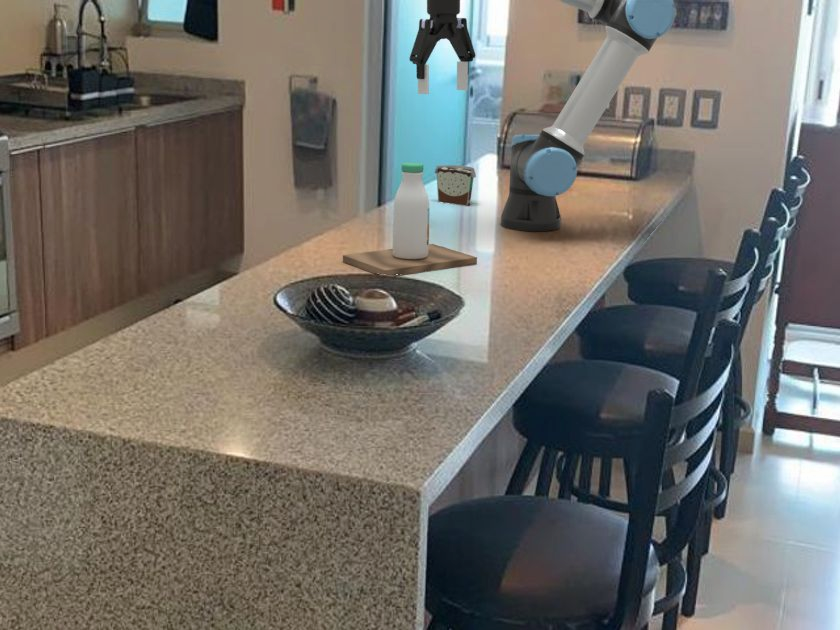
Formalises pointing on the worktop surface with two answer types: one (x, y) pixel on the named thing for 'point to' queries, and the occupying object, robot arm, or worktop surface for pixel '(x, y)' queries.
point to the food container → (455, 184)
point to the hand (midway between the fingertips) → (443, 92)
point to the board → (409, 261)
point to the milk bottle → (411, 215)
